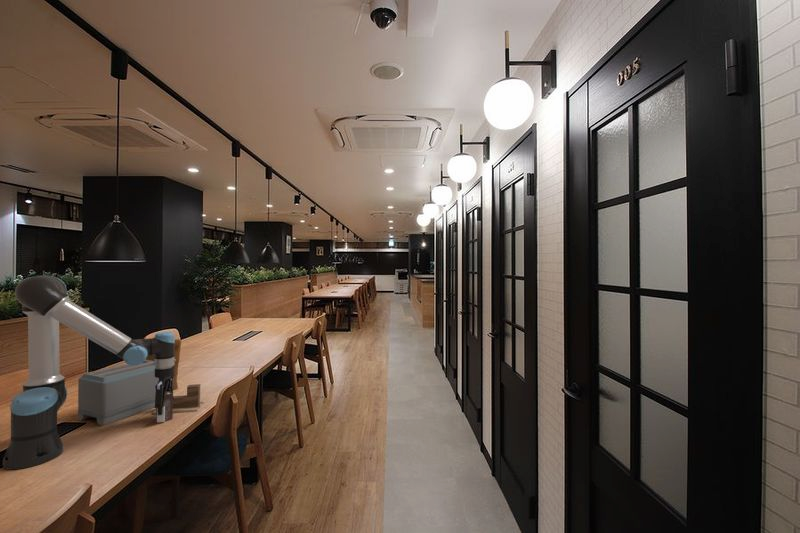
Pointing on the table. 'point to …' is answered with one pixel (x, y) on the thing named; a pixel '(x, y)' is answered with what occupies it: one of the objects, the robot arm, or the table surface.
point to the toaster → (117, 392)
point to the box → (167, 406)
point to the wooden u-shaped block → (187, 400)
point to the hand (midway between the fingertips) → (164, 418)
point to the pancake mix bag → (176, 356)
